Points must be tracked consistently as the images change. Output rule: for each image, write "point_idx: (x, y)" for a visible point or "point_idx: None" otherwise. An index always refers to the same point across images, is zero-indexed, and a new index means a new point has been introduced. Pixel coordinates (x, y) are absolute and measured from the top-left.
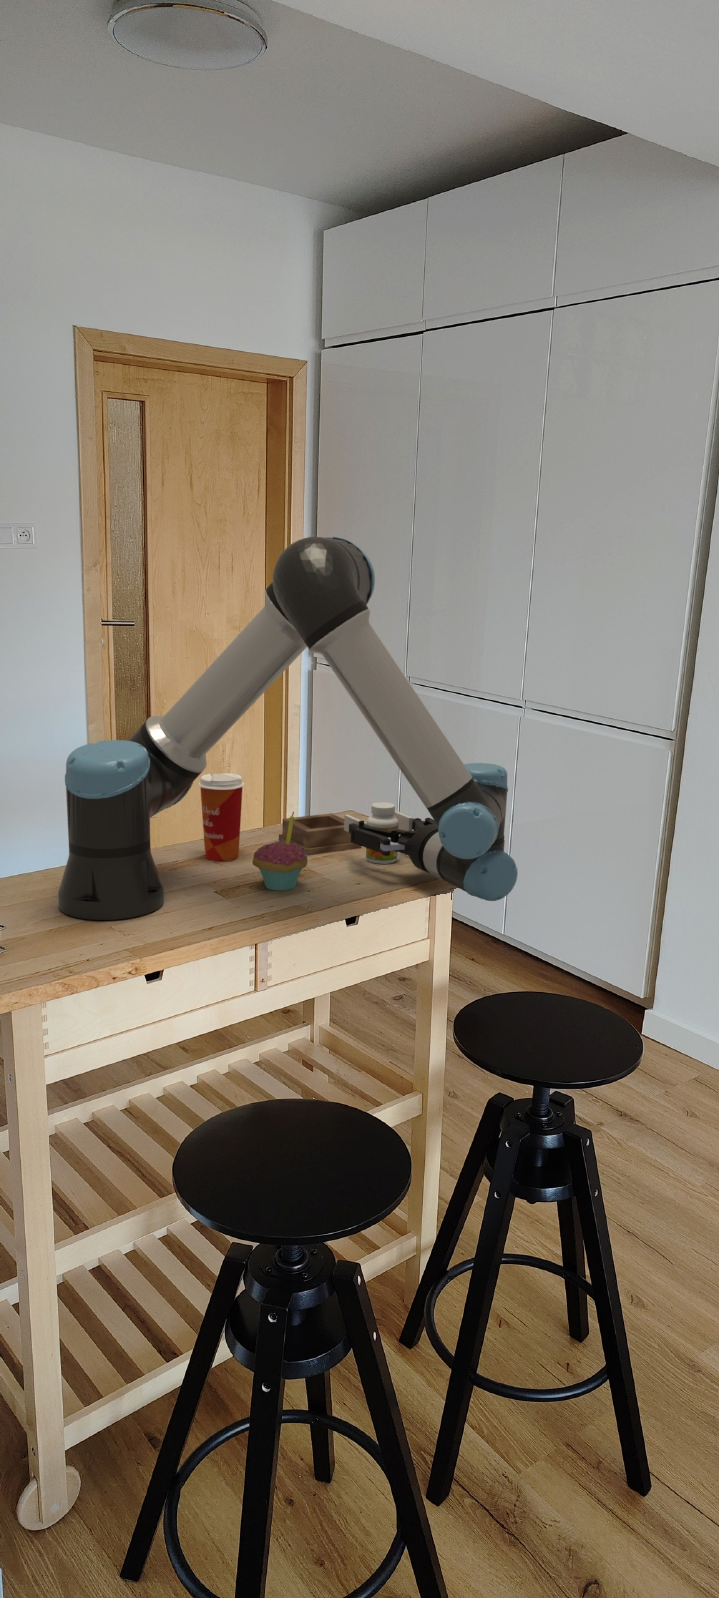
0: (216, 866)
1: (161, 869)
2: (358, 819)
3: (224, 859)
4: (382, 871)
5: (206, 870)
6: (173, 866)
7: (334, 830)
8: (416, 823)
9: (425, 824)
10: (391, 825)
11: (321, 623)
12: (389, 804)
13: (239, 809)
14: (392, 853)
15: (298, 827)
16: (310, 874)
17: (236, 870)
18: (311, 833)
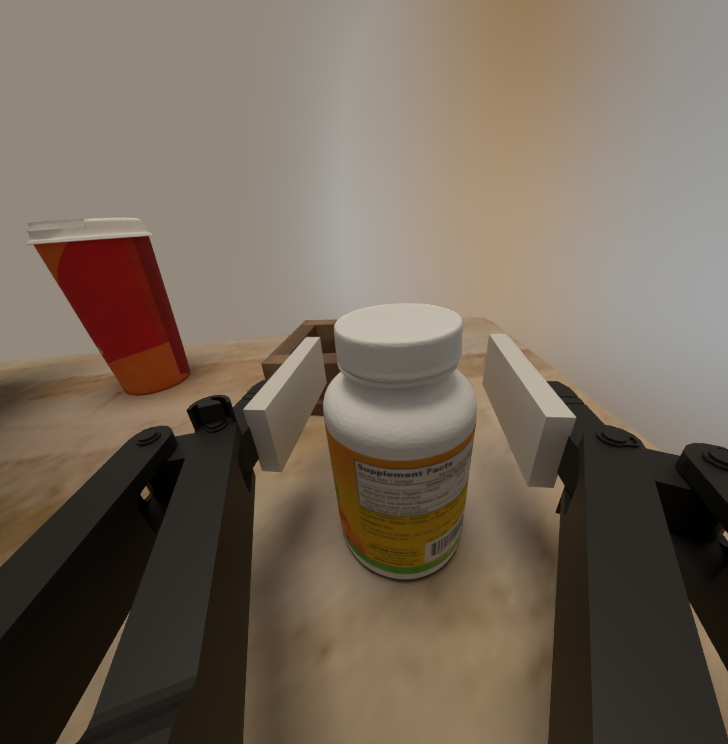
0: (88, 406)
1: (35, 392)
2: (292, 370)
3: (128, 391)
4: (289, 682)
5: (48, 416)
6: (63, 388)
7: (334, 367)
8: (587, 522)
9: (678, 498)
10: (399, 450)
11: None
12: (433, 319)
13: (115, 296)
14: (411, 556)
15: (280, 345)
16: None
17: (67, 434)
18: (272, 368)
